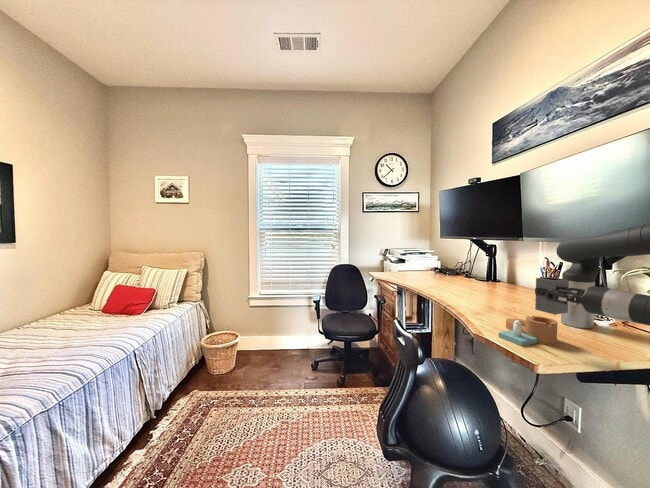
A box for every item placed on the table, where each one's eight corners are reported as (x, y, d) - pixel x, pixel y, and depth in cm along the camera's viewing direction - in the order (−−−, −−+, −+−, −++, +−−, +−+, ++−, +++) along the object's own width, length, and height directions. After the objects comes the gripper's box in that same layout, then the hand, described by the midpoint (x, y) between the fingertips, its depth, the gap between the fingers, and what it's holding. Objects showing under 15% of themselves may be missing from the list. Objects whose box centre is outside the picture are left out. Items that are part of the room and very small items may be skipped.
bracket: (563, 344, 88) (564, 323, 87) (538, 345, 88) (539, 324, 87) (521, 325, 106) (522, 307, 105) (500, 325, 105) (501, 308, 105)
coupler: (547, 307, 88) (548, 276, 87) (567, 312, 82) (568, 279, 82) (535, 309, 86) (536, 278, 85) (555, 314, 81) (555, 281, 80)
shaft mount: (513, 334, 96) (513, 315, 96) (537, 342, 89) (537, 323, 89) (498, 336, 94) (498, 318, 94) (521, 346, 87) (521, 325, 86)
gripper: (594, 320, 68) (526, 303, 84) (628, 314, 73) (557, 299, 89) (595, 291, 68) (526, 279, 84) (630, 287, 72) (558, 276, 88)
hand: (543, 290), depth 86 cm, fingers closed on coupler, 5 cm apart
